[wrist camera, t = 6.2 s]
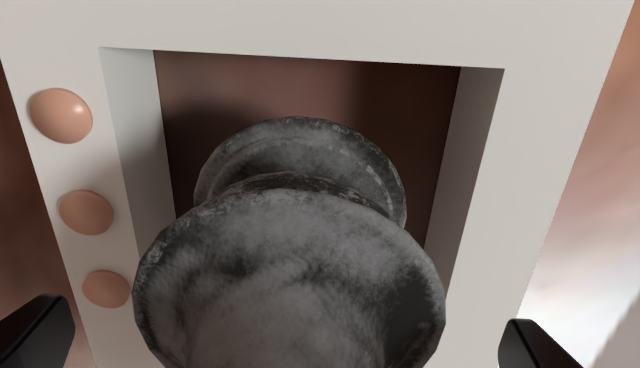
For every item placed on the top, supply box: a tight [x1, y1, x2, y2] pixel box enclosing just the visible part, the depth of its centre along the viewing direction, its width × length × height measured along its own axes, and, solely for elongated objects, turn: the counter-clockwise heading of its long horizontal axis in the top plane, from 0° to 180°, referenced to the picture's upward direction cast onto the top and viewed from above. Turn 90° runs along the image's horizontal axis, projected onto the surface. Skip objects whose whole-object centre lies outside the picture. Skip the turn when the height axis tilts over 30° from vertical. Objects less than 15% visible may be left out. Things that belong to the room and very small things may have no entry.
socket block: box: [0, 0, 634, 368], centre depth 13 cm, size 12×12×3 cm
